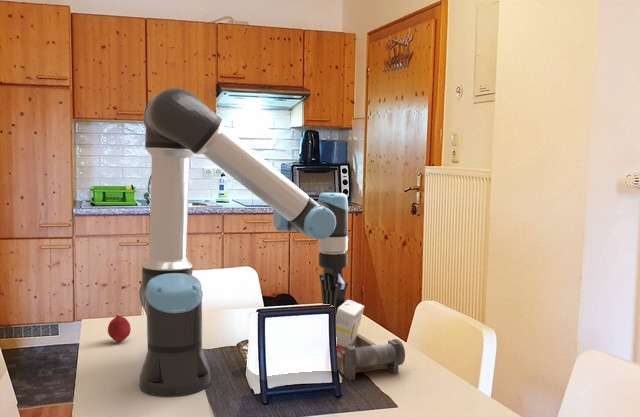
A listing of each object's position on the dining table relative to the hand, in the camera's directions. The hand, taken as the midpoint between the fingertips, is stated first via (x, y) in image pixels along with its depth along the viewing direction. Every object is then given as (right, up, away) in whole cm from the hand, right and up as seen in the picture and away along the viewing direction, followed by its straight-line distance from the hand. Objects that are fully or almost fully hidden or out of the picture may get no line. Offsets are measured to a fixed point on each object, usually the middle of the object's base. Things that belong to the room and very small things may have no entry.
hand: (332, 339), depth 161 cm
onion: (-57, -1, +1) cm, 57 cm away
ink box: (+2, -1, -5) cm, 5 cm away
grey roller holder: (+6, -3, -13) cm, 14 cm away
